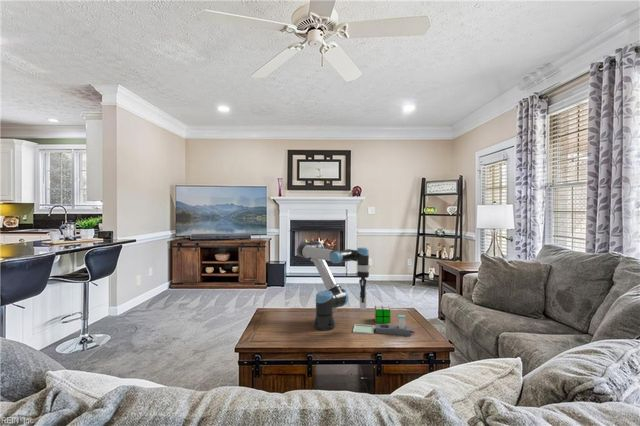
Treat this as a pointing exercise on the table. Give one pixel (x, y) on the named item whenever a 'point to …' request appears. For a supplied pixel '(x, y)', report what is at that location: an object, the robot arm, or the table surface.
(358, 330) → the tray
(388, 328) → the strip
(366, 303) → the plug
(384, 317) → the puzzle cube
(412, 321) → the table surface
